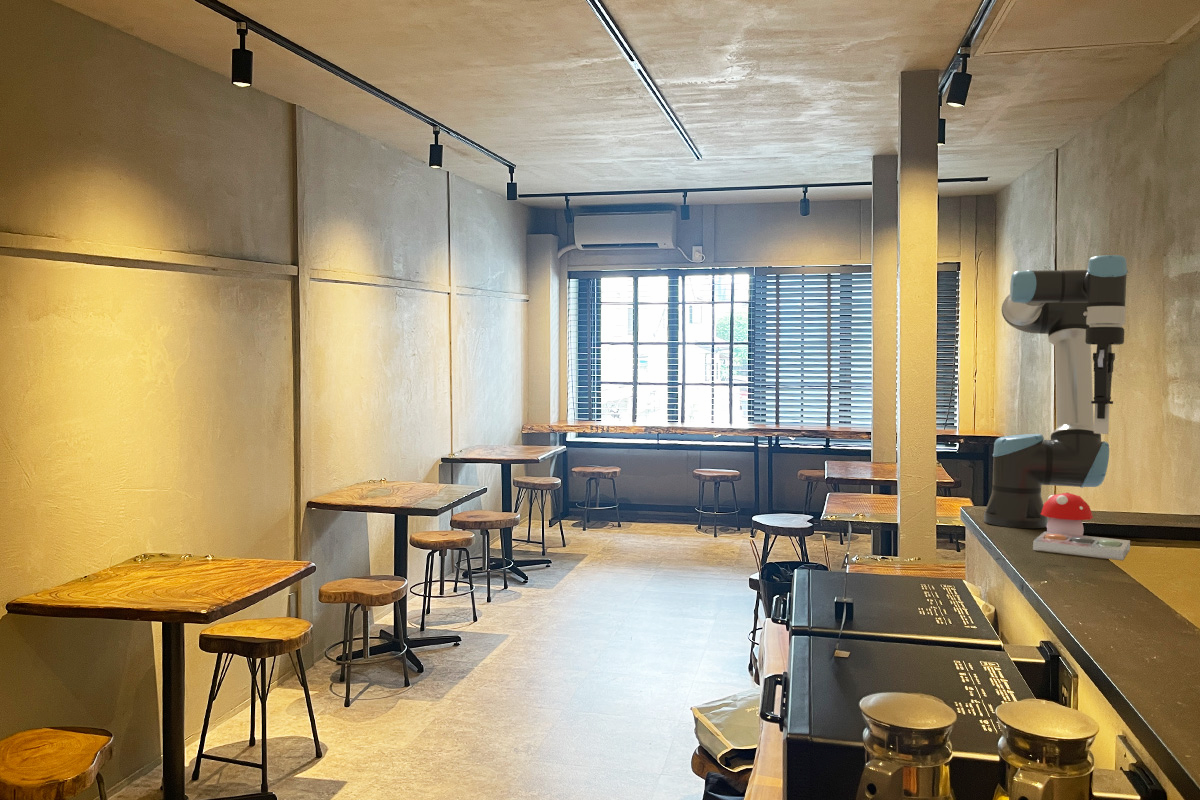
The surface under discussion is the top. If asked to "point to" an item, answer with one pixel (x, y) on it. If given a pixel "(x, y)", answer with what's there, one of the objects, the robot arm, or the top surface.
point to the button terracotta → (1055, 536)
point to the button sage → (1109, 542)
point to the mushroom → (1066, 513)
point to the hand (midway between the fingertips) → (1101, 433)
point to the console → (1082, 547)
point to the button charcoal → (1082, 539)
